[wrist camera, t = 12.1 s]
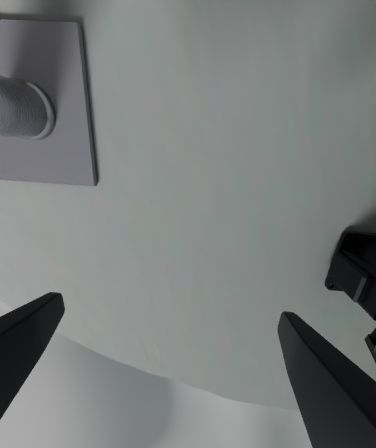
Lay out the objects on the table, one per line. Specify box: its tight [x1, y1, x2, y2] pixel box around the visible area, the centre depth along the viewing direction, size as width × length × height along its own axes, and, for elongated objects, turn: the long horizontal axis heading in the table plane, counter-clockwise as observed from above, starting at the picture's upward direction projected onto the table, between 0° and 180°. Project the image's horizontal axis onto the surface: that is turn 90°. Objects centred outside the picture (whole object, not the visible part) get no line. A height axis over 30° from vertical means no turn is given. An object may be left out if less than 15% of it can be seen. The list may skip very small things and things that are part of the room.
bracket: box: [0, 19, 97, 186], centre depth 18 cm, size 11×12×2 cm
